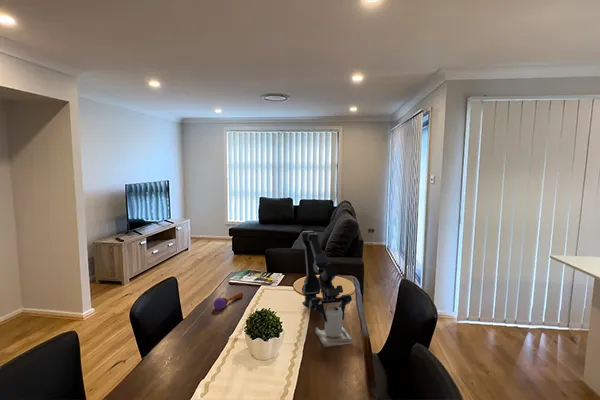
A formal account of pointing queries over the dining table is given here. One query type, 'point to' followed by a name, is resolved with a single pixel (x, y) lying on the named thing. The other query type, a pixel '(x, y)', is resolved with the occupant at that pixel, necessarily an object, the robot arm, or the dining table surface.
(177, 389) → the dining table surface
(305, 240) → the robot arm
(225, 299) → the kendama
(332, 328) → the can
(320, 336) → the rail dock
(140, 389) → the dining table surface
